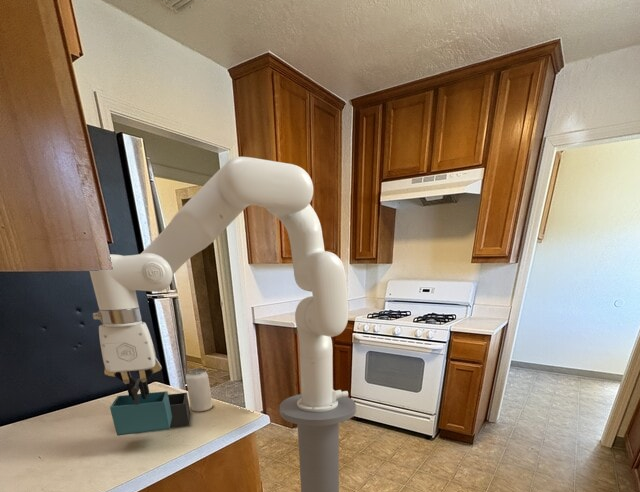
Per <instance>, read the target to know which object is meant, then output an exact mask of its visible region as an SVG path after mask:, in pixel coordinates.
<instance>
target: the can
mask: <svg viewBox="0 0 640 492" xmlns="http://www.w3.org/2000/svg"><path fill="white" fill-rule="evenodd" d="M185 382H186V386H187V395H188V400H189V406H190V410H192V411H193V412H197V413H198V412H199V413H201V412H207V411H209V410H211V409H212V408H213V398H212V392H211V391H212V390H211V384H210V379H209V375H208V373H207V370H206V369H205V368H192V369H188V370H186V374H185Z"/></svg>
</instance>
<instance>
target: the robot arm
mask: <svg viewBox="0 0 640 492" xmlns="http://www.w3.org/2000/svg"><path fill="white" fill-rule="evenodd" d="M313 196H314V184H313V180H312V178H311V176H310V174H309V173H308V172H307V171H306V170H305V169H304V168H302V167H301V166H299V165H296V164H293V163H287V162H281V161H275V160H270V159H269V160H268V159H264V158H263V159H262V158H257V157H250V156H235V157H232V158H231V159H228V161H227V162H225V164H223V165H222V166H221V168H219V169H218V170H217V171H216V172H215V173H214V174H213V175H212V176H211V177H210V179H209V180H207V182H205V184H203V186H202V187H201V188H199V190H197V192H196V193H195V194H194V195H193V196H191V198H190V199H189V200H188V201H187V202H186V203H185V204H184V205H182V206H181V207H180V209H179V210H178V211H177V212H176V213H175V215H174V216H173V217H172V219H171V220H170V222H169V223H168V224H167V225H166V226H165V228H164V229H162V231H161V232H160V233H159V234H158V235H157V236H156V237H155V238H154V239H153V240H152V241H151V242H150V243H149V245H148V246H146V248H144V250H143V251H142V252H140V253H138V254H131V255H122V254H115V253H114V254H113V253H112V254H111V253H110V257H111V262H112V267H113V270H99V271H89V275H90V279H91V283H92V287H93V290H94V294H95V299H96V302H97V307H98V309H99V310H98V311H97V312H93V313H92V318H93V320H94V321H95V320H98V321H100V322H101V324H100V325H98V335H99V336H98V337H99V344H100V350H101V356H102V361H103V365H104V370H103V371H104V375H105V376H108V377H114V378H117V379H118V380H119V381H122V382H123V383H124V384H125V385H126V389H127V393H128V394H127V395H129V396H132V400H134V395H133V393H132V392H131V389H132V388H133V386H134V384H135V383H136V380H134V379H133V378H132V375H131V372H136V371H138V373H139V378H140V382H139V387H140V389H139V391H141V392H140V394H141V396H142V399H146V398H147V394H149V393H150V389H149V384H148V379H149V378H150V377H151V376H152V375H153V374H155V373H158V372H160V371H161V370H162V369H163V366H162V365H161V363H160V361H159V360H158V358H157V354H156V350H155V346H154V343H153V339H152V336H151V333H150V330H149V328H148V325H147V323H146V322H145V321H143V320H142V315H141V311H140V305H139V301H138V296H137V291H141V292H151V293H152V292H153V293H154V292H155V293H156V292H162V291H165V290H166V289H168V288H169V287H170V285H171V284H172V281H173V275H174V274H175V273H176V272H177V271H178V270H179V269H180V268H181V267H183V265H184V264H185V263H187V262H188V260H190V259H191V258H192V257H194V256H195V255H196V254H198V253H201V251H203V250H205V249H206V248H207V247H208V246H210V245H211V244H212V243H214V241H215V240H217V238H218V237H219V236H220V235H221V234H222V233H223V232H224V231H225V230H226V229H227V228H228V227H229V226H230V225H231V224H232V222H234V220H236V219H237V218H238V216H239V215H240V214H241V213H242V212H243V211H244V210H245V209H246V208H247V207H249V206H257V207H262V208H264V209H266V210H267V212H269V213H270V214H271V215H272V216H274V217H276V219H278V220H279V221H280V222H281V223H282V225H283V226H284V228H285V230H286V232H287V235H288V239H289V244H290V250H291V260H292V269H293V277H294V281H295V284H296V285H297V286H298V287H299V288H300V289H301V290H302V291H306V292H311V293H312V296H307V297H304V298H303V299H301V300H300V301H299V302H298V304H297V305H296V307H295V313H294V318H295V326H296V330H297V336H298V337H297V338H298V345H299V347H298V349H299V365H300V366H299V367H300V369H299V370H300V390H301V391H300V392H301V393H300V394H302V398H300V399H299V400H298V401H297V407H298V408H299V409H301V410H303V411H307V412H325V411H330V410H332V409H335V408H336V407H337V406H338V400H337V399H339V398H344V397H349V392H348V390H343V391H342V389H337V390H335V389H334V377H333V376H334V375H333V373H334V371H333V369H334V368H333V366H334V365H333V362H334V361H333V360H334V359H333V352H334V351H333V340H332V338H334V337H337V336H339V335H341V334H342V333H343V332H344V331H345V329H346V327H347V325H348V321H349V300H348V299H349V298H348V284H347V273H346V269H345V266H344V263H343V262H342V260H341V258H340V257H339V256H338V255H337V254H336V253H333V251H328V250H325V244H324V242H325V241H324V237H323V229H322V225H321V222H320V219H319V217H318V214H317V212H316V211H315V210H314V208H313V206H312V205H311V202H312V200H313Z"/></svg>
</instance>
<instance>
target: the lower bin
mask: <svg viewBox="0 0 640 492" xmlns="http://www.w3.org/2000/svg"><path fill="white" fill-rule="evenodd" d="M168 397H169V402H170V408H171V413H172V420H171V425H170V429H177V428H184V427H190V424H191V406H190V401H189V395H188V392H177V393H171V394H170V393H168Z"/></svg>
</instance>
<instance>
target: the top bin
mask: <svg viewBox="0 0 640 492" xmlns="http://www.w3.org/2000/svg"><path fill="white" fill-rule="evenodd" d="M139 382H140V377H139V378H137V379H136V380H135V384H134V386H133V388H132V389H131V392H132V393H133V395H134V400H132V396H129V394H124V395H123V394H121V395H117V396H116V398H115V399H114V400H113V402H112V404H111V405H110V406H109V410H110V413H111V417H112V422H113V425H114V429H115V433H116V436H117V437H119V436H125V435H126V436H127V435H128V436H129V435H135V434H142V433H149V432H150V433H151V432H159V431H167V430H170V429H171V428H170V425H171V420H172V413H171V408H170V402H169V397H168V395H169V392H168V390H166V391H154V392H149V394H147V398H146V399H142V396H141V391H140V387H139ZM139 391H140V393H139Z"/></svg>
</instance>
